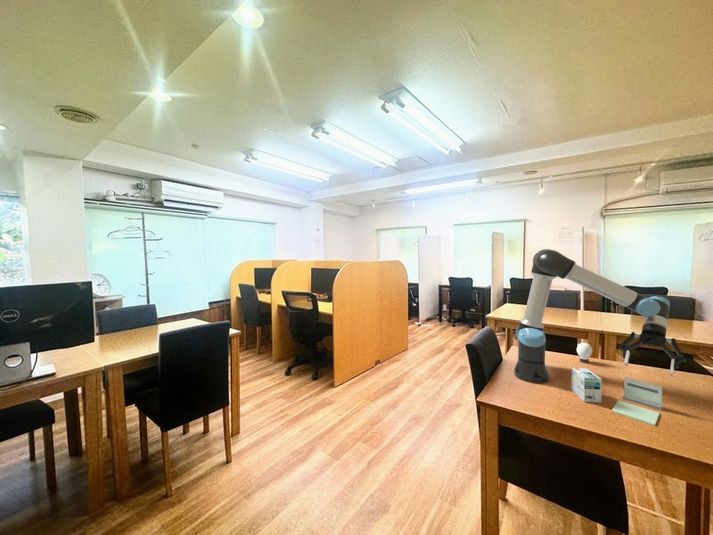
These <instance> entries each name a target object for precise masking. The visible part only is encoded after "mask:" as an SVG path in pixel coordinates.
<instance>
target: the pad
mask: <svg viewBox="0 0 713 535" xmlns="http://www.w3.org/2000/svg"><path fill="white" fill-rule="evenodd" d="M611 412H612V413H615V414H618V415H621V416H623V417H626V418H627V417H628V418H630V419H632V420H636V421H639V422H642V423H645V424H648V425H651V426H656V424H657V421H658V419H659V417H660V412H658V411H655V410H651V409H647V408H644V407H642V406H637V405H635V404H632V403H628V402H624V401H622V400H617V401H616V403H615V404H614V406H613V407H612V409H611Z"/></svg>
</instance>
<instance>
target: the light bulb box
mask: <svg viewBox="0 0 713 535" xmlns="http://www.w3.org/2000/svg"><path fill="white" fill-rule="evenodd" d="M602 383H603V378H601V377H600V376H599V375H597V374H595V373H594V372H592V370H590V369H589V368H586V367H585V368H584V367H571V387H570V389H571V391H572V392H573V393H574V394H575V395H577V397H579V399H580V400H582V402H584V403H585V402H586V403H597V404H601V403H602V388H603V387H602V385H603V384H602Z"/></svg>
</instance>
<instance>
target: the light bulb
mask: <svg viewBox="0 0 713 535" xmlns="http://www.w3.org/2000/svg"><path fill="white" fill-rule="evenodd" d="M576 352H577V355H578V356H579V362H580V363H583V364H589V362H590V357H591V356H592V354H593V349H592V346H591V345H590V344H589V343H587V342H581V343H579V344H578V345H577V347H576Z"/></svg>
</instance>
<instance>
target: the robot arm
mask: <svg viewBox="0 0 713 535" xmlns="http://www.w3.org/2000/svg"><path fill="white" fill-rule="evenodd" d="M530 272H531V275H532V277H533V278H532V281H531V286H530V290H529V293H528V294H529V295H528V299H527V303H526V306H525V312H524V314H523V315H524V316H523V317H522V319H519V322H518V326H517V328H516V329H515V338H516V341H517V347H518V348H517V349H518V350H517V353H518V354H517V356H518V357H517V362H516V364H515V366H514V368H513V371H514V372H513V374H514V376H515V377H516V378H518V379H520V380H522V381H525V382H529V383H532V384H533V383H534V384H544V383H548V382H549V381H550V380H549V379H550V374H549V371H548V369H547V366H546V343H547V340H546V339H547V338H546V335H545V333H544V330H545V326H544V324H543V319H544V316H545V312H546V307H547V303H548V300H549V296H550V290H551V287H552V284H553V280H554V279H557V277H558V278H560V279H562V280H563V279H564V280H566V279H567V280H569V281H571V282H573V283H575V284H578V285H579V286H581V287H583V288H585V289H587V290H589V291H592V292H594V293H596V294H599V295H601V296H602V297H605V298H606V299H608V300H611V301H613V302H614V303H616V304H618V305H619V306H622V307H624V308H627V309H629V310H631V311H633V312H635V313H638V314H639V315H641V316H643V322H642V327H641V332H640V334H638V333H636V332H635V331H631V334H630V335H629V336H628V337H627V338H625V339H624V340H623V342H621V344H619V345H618V348H619V350H620V351H622V358H623V359H624V363H623V364H624V366H625V367H628V366H629V359H630V355H631V353H630V352H631V351H633V350H636V349H637V348H639V347H642V346H645V345H646V347H647V346H648V347H653V348H660V349H661V350H663V352H665V353H666V354H667V355H668V356H669V357H670V358H671V362H670V370H669V376H670V377H674V372H675V370H678V369H679V364H680V363H686V362H687V360H686V359H687V358H686V356H685V355H684V354H683V352H682V350H681V349H680V347H679V346H678V343H677V342H676V338H667V337H666V336H667V329H668V321H669V315H670V311H671V303H670V300H669V299H668V298H665V297H663V296H658V295H655V296H653V295H652V296H650V297H648V296H645V295H643V294H640V293H638V292H636V291H635V290H632V289H630V288H628V287H626V286H623V285H621V284H620V283H617V282H614V281H613V280H610V279H608V278H607V277H604V276H602V275H599V274H597V273H595V272H593V271H591V270H589V269H586V268H584V267H583V266H580V265H578V264H577V263H576V261H575V260H573V259H570V258H569V257H567V256H565V255H564V254H562V253H561V252H560V251H557V250H554V249H550V248H549V249H548V248H547V249H546V248H545V249H541V250H539V251H537V252H536V253H535V254H534V255H533V257H532V266H531V271H530ZM638 338H639V339H638ZM635 339H636V340H637V339H638V340H637V341H635ZM667 343H668V344H669V345H670V346H671V347H672V349H673V350H674V352H675V353H676V354H675V353H674V352H673V351H672V350H671V349H670V348H669V347H667V345H666V344H667Z"/></svg>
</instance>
